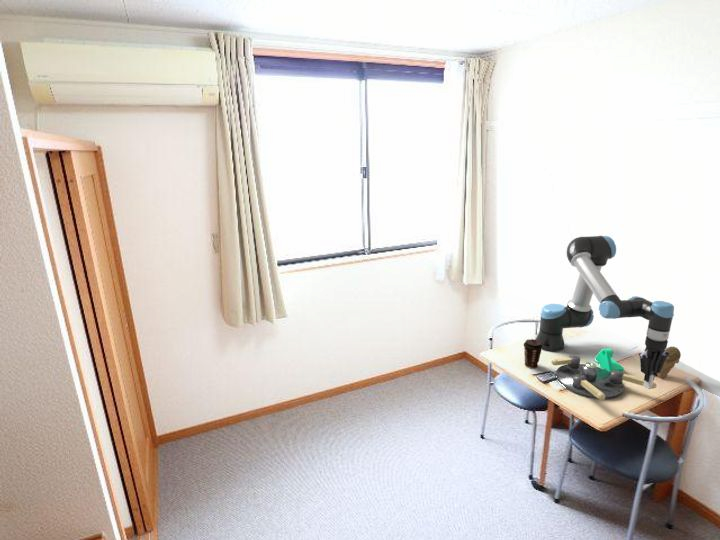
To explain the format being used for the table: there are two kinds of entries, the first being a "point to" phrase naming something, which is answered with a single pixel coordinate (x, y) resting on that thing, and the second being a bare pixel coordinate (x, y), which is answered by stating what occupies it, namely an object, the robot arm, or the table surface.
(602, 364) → the camera mount
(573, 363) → the maraca
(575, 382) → the knob
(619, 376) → the knob
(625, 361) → the table surface
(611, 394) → the level base
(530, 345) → the coffee cup
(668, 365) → the figurine
